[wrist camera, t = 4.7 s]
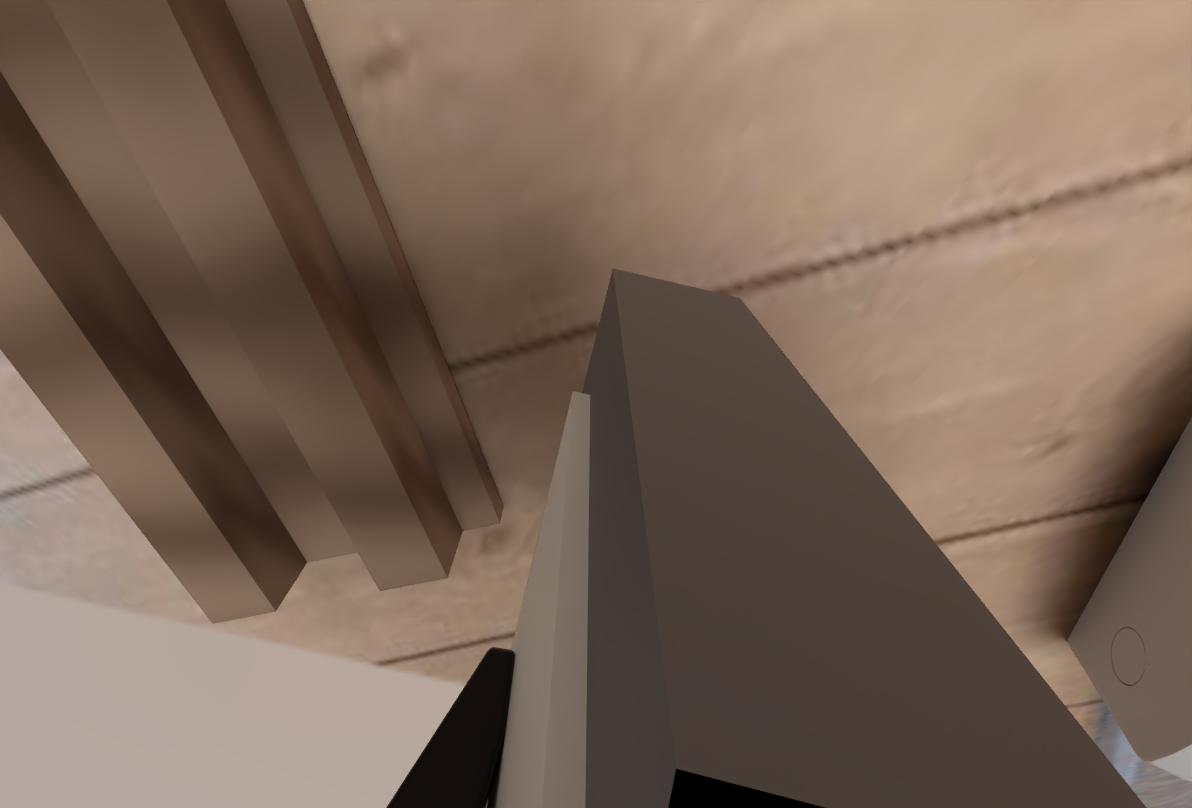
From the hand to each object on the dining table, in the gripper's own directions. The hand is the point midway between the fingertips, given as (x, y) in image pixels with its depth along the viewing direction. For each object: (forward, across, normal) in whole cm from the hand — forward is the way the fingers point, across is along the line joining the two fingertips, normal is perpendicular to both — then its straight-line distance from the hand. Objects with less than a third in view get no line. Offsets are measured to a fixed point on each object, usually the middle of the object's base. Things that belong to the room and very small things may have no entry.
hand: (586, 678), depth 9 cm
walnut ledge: (+12, +12, 0) cm, 17 cm away
